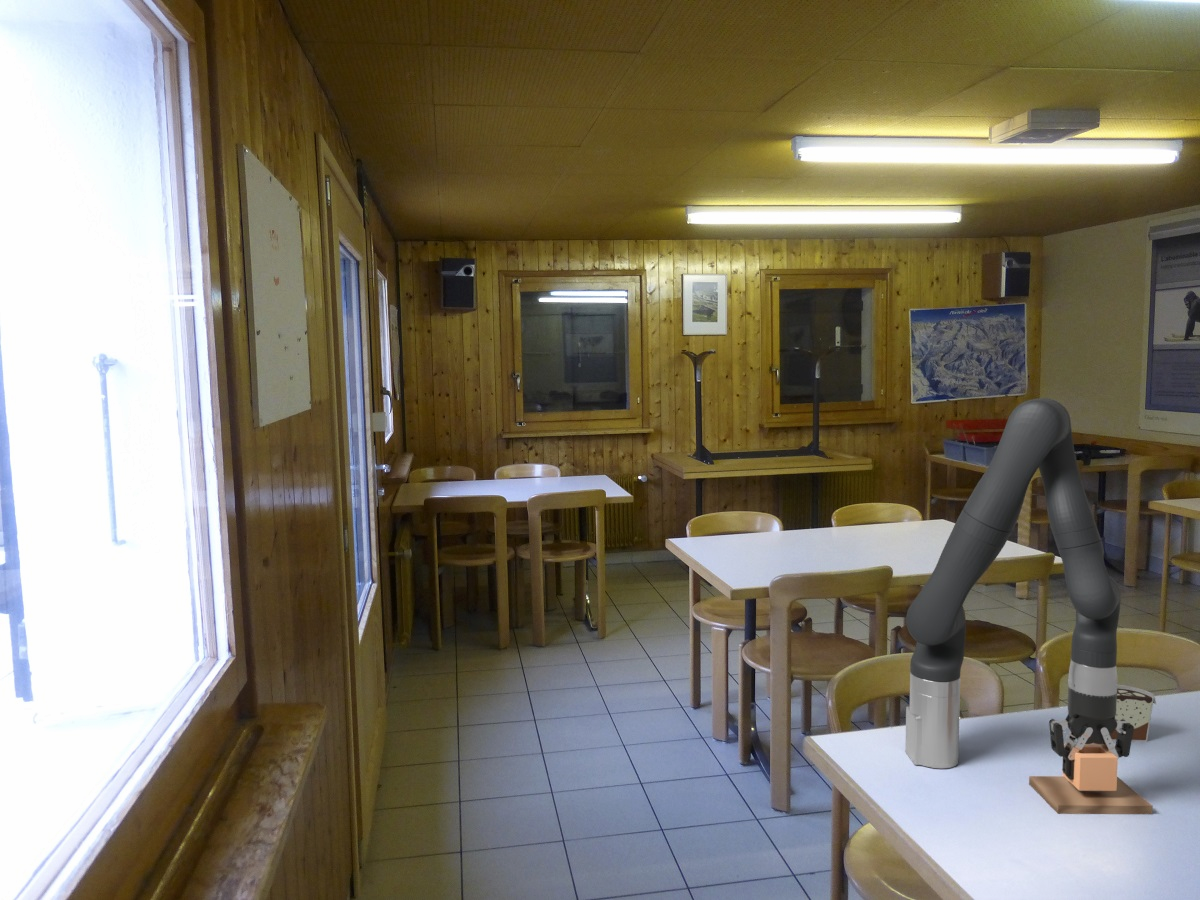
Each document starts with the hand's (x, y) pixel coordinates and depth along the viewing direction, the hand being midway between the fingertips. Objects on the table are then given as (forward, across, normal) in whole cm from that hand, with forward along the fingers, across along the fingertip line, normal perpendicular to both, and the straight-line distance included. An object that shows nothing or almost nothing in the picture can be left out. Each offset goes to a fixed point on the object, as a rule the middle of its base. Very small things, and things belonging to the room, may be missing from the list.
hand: (1089, 777), depth 156 cm
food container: (+4, +20, +28) cm, 35 cm away
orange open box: (+1, 0, 0) cm, 1 cm away
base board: (+4, 0, 0) cm, 4 cm away
